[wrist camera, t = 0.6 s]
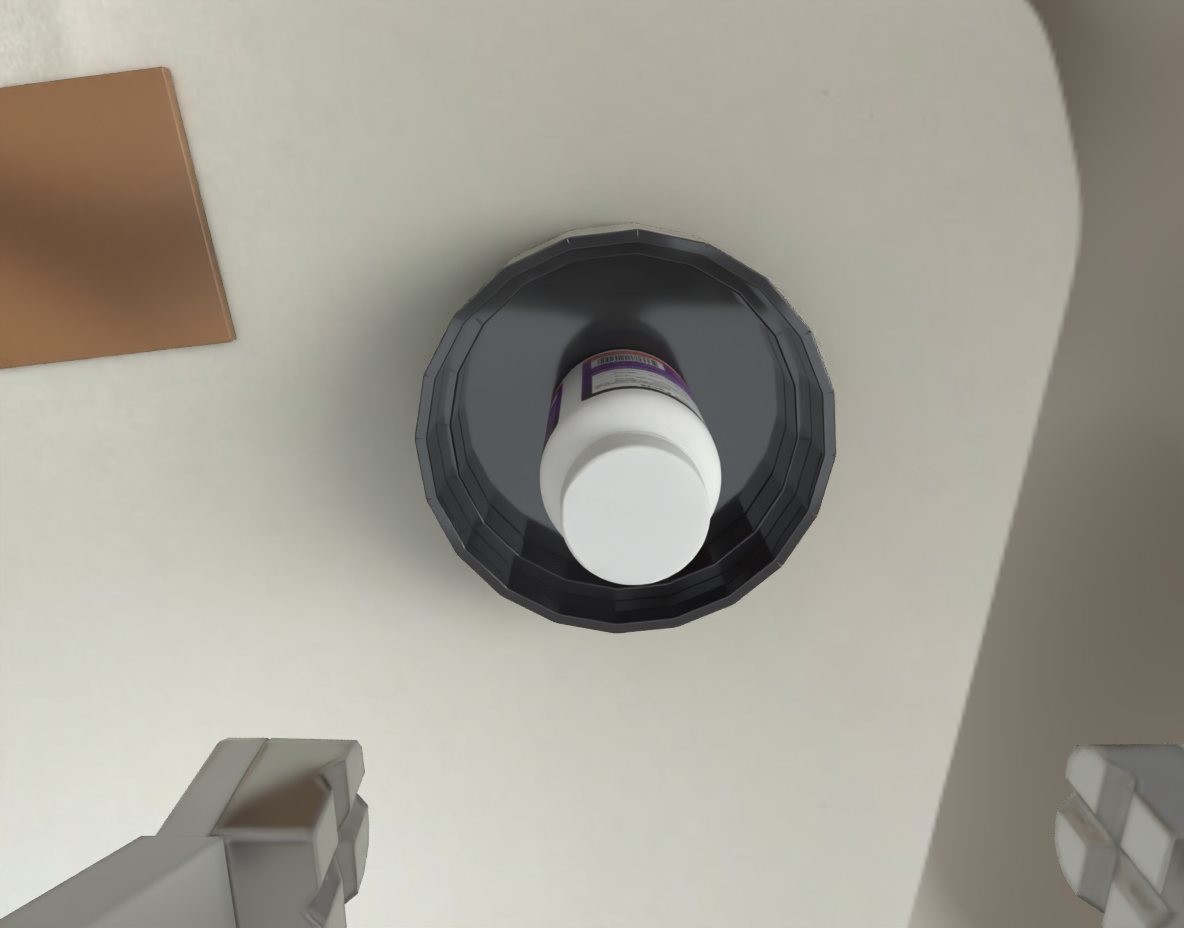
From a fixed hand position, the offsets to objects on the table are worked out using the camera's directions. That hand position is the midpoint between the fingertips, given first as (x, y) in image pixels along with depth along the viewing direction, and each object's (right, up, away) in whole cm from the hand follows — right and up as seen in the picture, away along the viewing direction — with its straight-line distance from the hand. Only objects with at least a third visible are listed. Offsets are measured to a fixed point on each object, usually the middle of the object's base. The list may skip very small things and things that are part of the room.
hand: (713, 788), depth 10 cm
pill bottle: (0, +5, +22) cm, 23 cm away
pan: (0, +6, +22) cm, 23 cm away
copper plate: (-19, +12, +20) cm, 30 cm away
